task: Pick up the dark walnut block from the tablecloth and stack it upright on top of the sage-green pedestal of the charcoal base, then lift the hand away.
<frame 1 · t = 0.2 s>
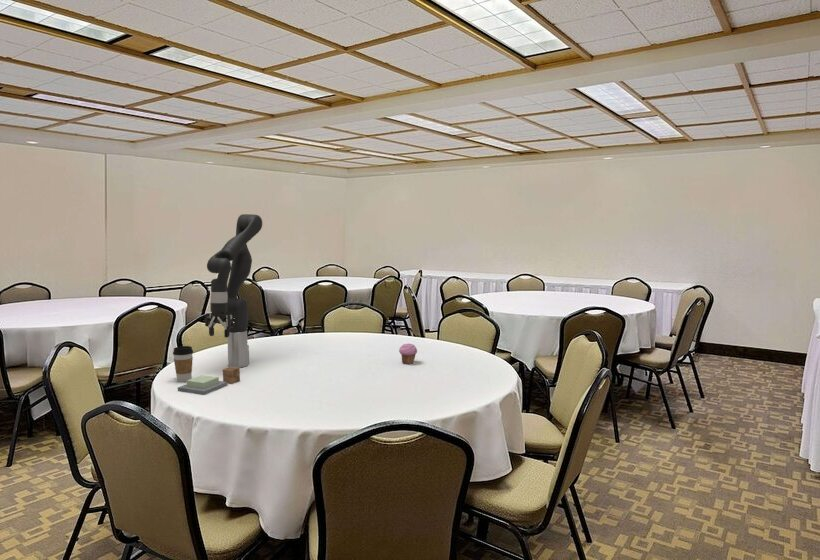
hand: (219, 336, 255), 17 cm above the table, tool pointing down, fingers open, 8 cm apart
stack base: (203, 388, 234), on the table
cupcake: (408, 363, 276), on the table
coffee cup: (184, 380, 245), on the table
walnut block: (231, 382, 243), on the table
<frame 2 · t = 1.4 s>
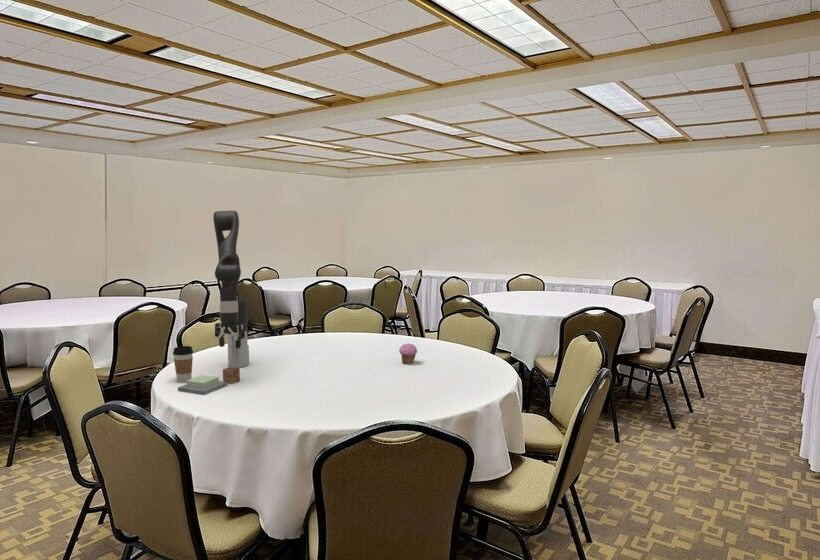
hand: (230, 347, 241), 15 cm above the table, tool pointing down, fingers open, 8 cm apart
nothing on the table moved.
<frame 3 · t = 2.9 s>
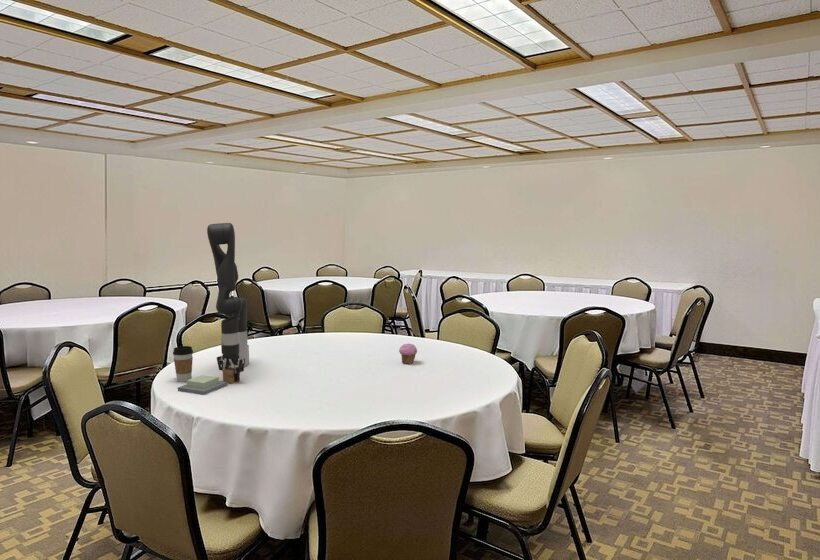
hand: (231, 380, 243), 1 cm above the table, tool pointing down, fingers closed on walnut block, 5 cm apart
walnut block: (231, 382, 243), on the table, touching gripper
everything else where it was.
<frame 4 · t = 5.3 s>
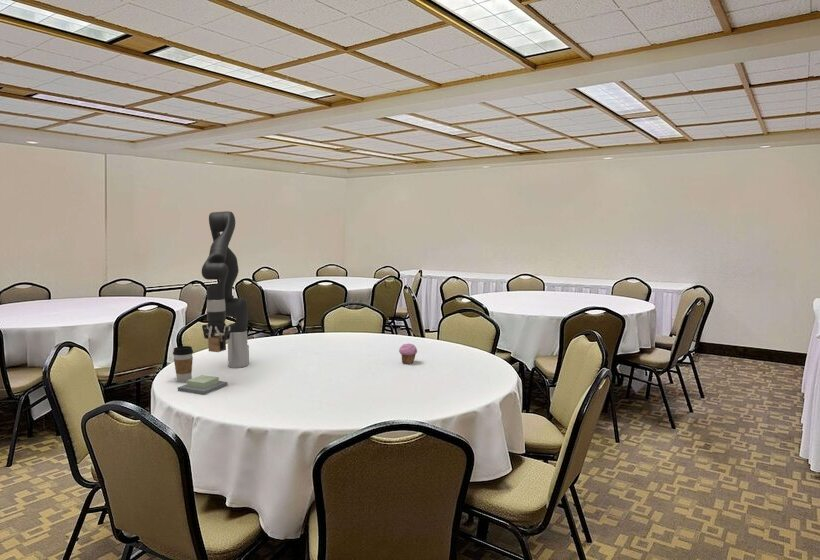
hand: (217, 349, 237), 16 cm above the table, tool pointing down, fingers closed on walnut block, 5 cm apart
walnut block: (217, 350, 237), point 15 cm above the table, touching gripper
everything else where it was.
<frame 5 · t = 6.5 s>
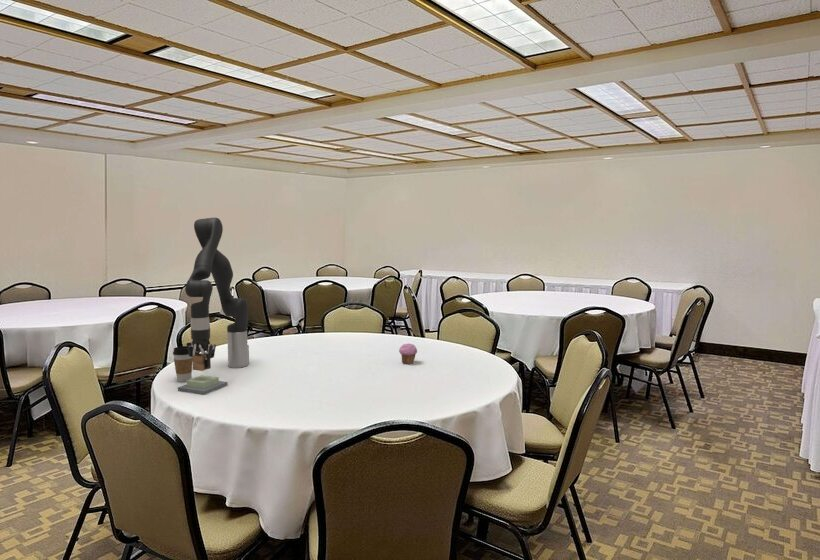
hand: (201, 367, 233), 9 cm above the table, tool pointing down, fingers closed on walnut block, 5 cm apart
walnut block: (201, 368, 233), point 8 cm above the table, touching gripper
everything else where it was.
when the fingers open (6 cm above the table, at t = 7.6 s): walnut block drops 1 cm, resting on stack base.
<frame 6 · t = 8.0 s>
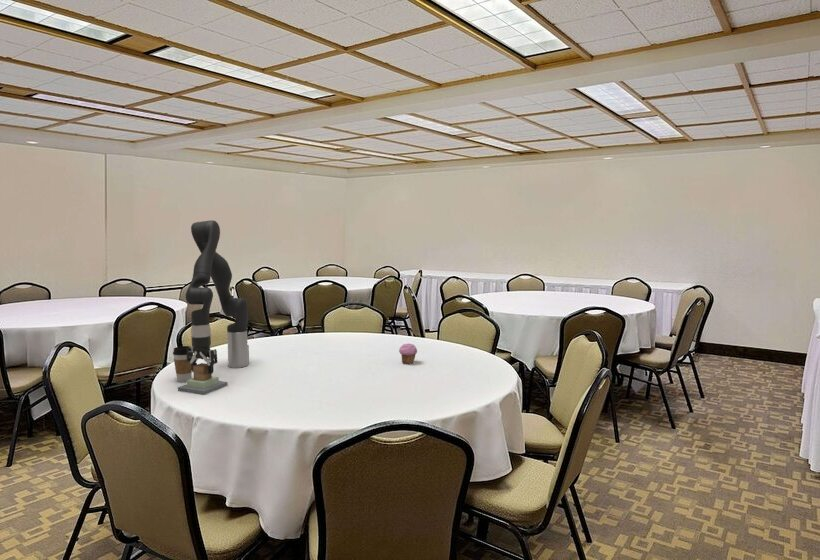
hand: (202, 372, 233), 7 cm above the table, tool pointing down, fingers open, 8 cm apart
walnut block: (202, 378, 234), point 4 cm above the table, touching stack base
everything else where it was.
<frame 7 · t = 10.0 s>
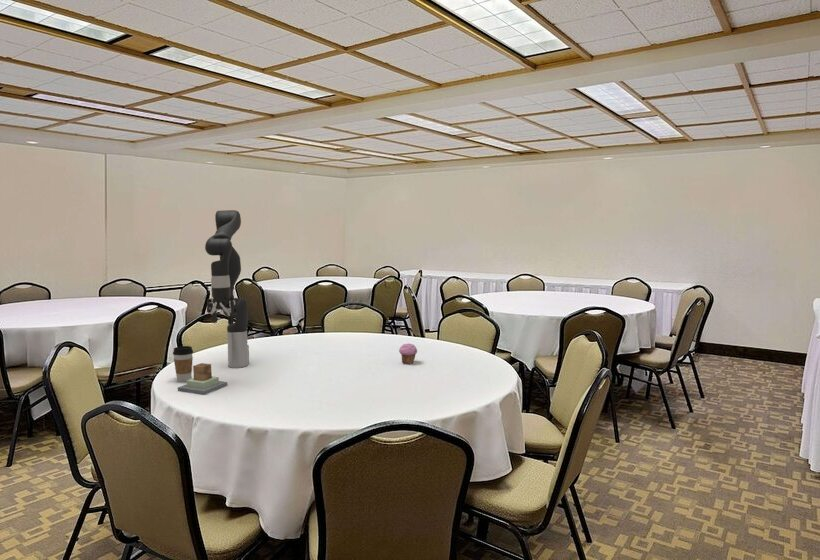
hand: (222, 323, 236), 27 cm above the table, tool pointing down, fingers open, 8 cm apart
nothing on the table moved.
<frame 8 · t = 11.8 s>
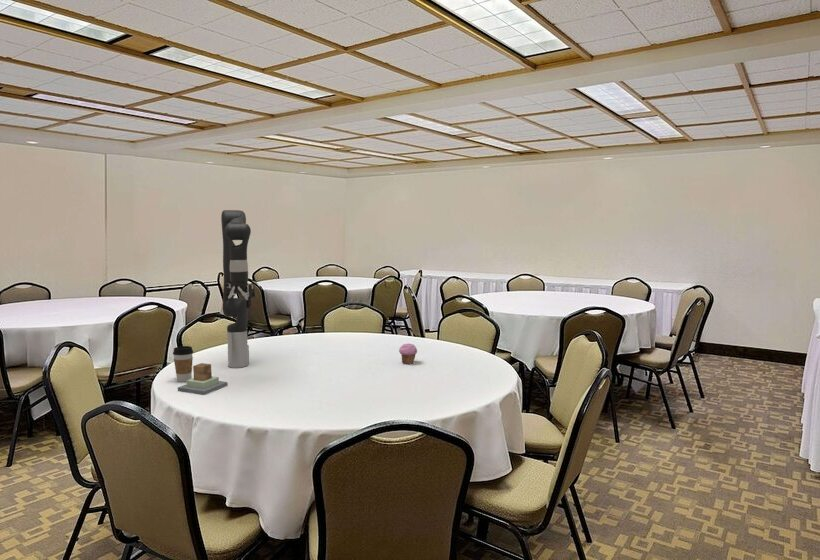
hand: (240, 307, 239), 33 cm above the table, tool pointing down, fingers open, 8 cm apart
nothing on the table moved.
at the end: walnut block 0.0 cm off-centre on the stack base, point 4.0 cm above the stack base's base; walnut block tilted 0°; the gripper is holding nothing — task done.
